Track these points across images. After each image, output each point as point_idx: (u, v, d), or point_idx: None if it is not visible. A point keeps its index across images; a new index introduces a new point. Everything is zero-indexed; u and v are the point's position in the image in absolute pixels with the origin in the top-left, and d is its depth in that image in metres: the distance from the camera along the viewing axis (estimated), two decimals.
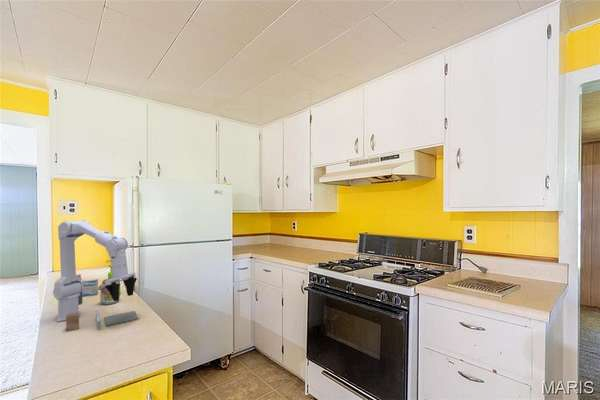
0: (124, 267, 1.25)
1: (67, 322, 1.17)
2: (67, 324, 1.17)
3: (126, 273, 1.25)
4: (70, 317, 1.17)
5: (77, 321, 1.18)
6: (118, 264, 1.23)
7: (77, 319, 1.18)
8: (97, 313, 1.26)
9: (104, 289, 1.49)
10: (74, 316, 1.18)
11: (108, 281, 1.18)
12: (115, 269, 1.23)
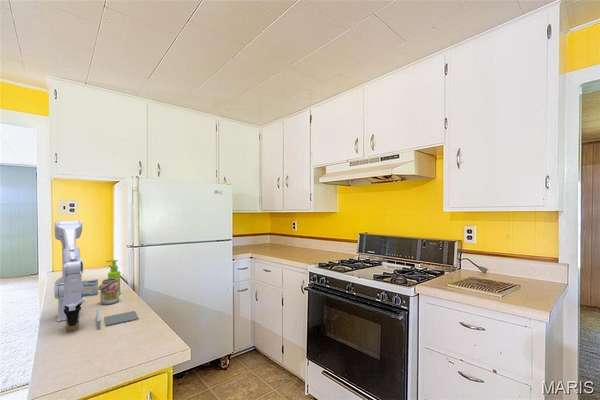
0: (81, 291, 1.21)
1: (67, 322, 1.17)
2: (67, 324, 1.17)
3: (81, 297, 1.21)
4: None
5: (77, 321, 1.18)
6: (66, 290, 1.17)
7: (77, 319, 1.18)
8: (97, 313, 1.26)
9: (104, 289, 1.49)
10: None
11: (74, 306, 1.14)
12: (74, 293, 1.17)
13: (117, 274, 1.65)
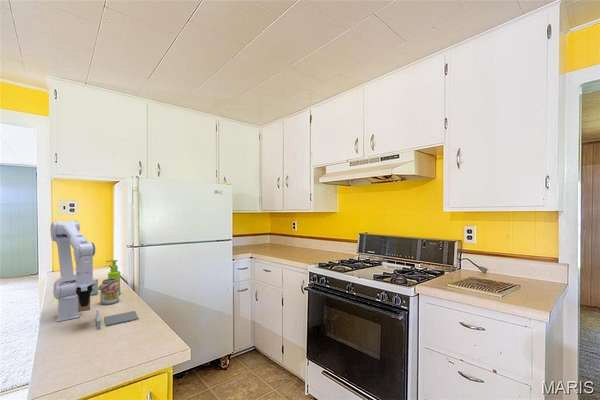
0: (92, 273, 1.23)
1: (79, 303, 1.19)
2: (79, 305, 1.19)
3: (92, 279, 1.24)
4: None
5: (88, 302, 1.21)
6: (80, 271, 1.19)
7: None
8: (97, 313, 1.26)
9: (104, 289, 1.49)
10: None
11: (86, 287, 1.16)
12: (85, 275, 1.20)
13: (117, 274, 1.65)
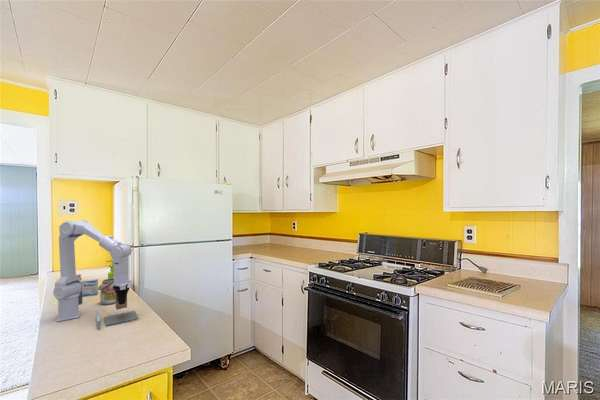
0: (128, 273, 1.31)
1: (117, 300, 1.27)
2: (117, 303, 1.27)
3: None
4: None
5: (125, 300, 1.29)
6: (121, 270, 1.27)
7: None
8: (97, 313, 1.26)
9: (104, 289, 1.49)
10: None
11: (124, 286, 1.24)
12: (123, 274, 1.28)
13: None
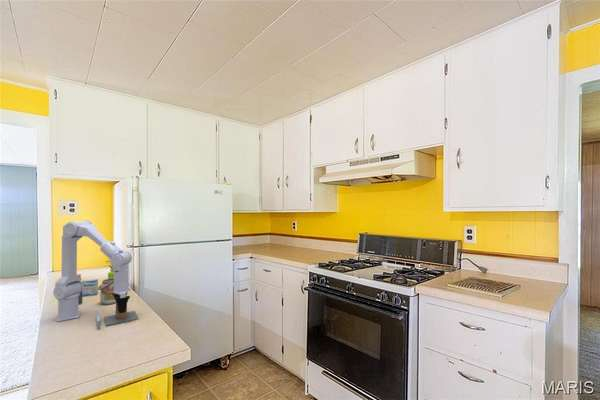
0: (128, 280, 1.31)
1: (117, 311, 1.27)
2: (117, 313, 1.27)
3: None
4: None
5: (125, 310, 1.28)
6: (121, 278, 1.27)
7: None
8: (97, 313, 1.26)
9: (104, 289, 1.49)
10: None
11: (124, 294, 1.24)
12: (123, 282, 1.28)
13: None
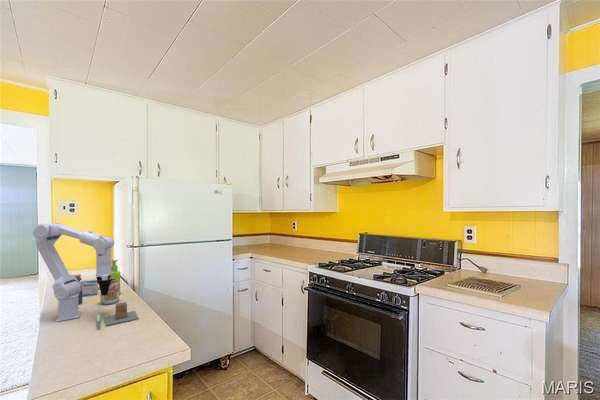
0: None
1: (117, 311, 1.27)
2: (117, 313, 1.27)
3: None
4: (119, 306, 1.27)
5: (125, 310, 1.28)
6: (105, 262, 1.31)
7: (125, 308, 1.29)
8: (97, 313, 1.26)
9: None
10: (123, 305, 1.28)
11: (106, 276, 1.28)
12: (105, 266, 1.32)
13: (117, 274, 1.65)
